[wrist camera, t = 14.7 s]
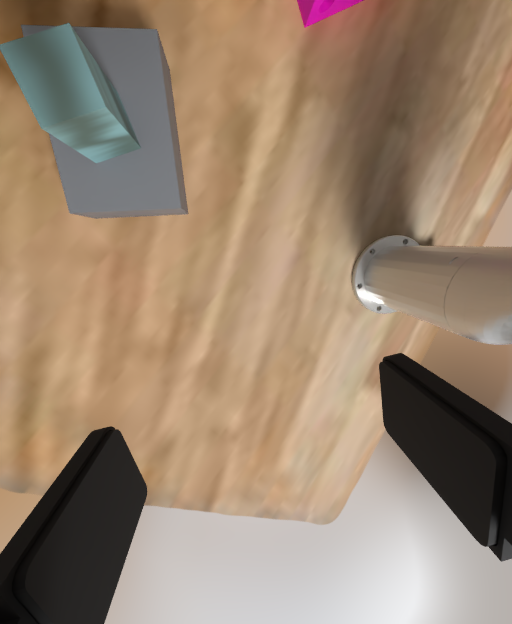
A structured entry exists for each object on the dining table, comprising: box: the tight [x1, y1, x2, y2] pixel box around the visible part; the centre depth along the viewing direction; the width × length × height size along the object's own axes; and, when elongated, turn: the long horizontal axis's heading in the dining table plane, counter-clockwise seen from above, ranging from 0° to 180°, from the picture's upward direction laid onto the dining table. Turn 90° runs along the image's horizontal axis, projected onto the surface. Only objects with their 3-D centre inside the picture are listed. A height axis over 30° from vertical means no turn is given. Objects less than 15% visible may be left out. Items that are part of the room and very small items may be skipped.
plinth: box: [21, 25, 188, 218], centre depth 28 cm, size 12×16×6 cm
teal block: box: [0, 23, 141, 163], centre depth 21 cm, size 5×5×8 cm
